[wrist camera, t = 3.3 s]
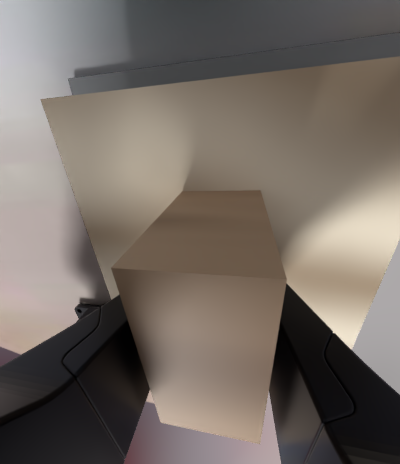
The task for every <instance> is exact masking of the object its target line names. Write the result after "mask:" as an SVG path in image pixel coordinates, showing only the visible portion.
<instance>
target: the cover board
mask: <svg viewBox="0 0 400 464" xmlns="http://www.w3.org/2000/svg"><path fill="white" fill-rule="evenodd" d="M41 102H42V105H43V108H44V111H45V113H46V116H47V119H48V122H49V125H50V128H51V131H52V133H53V136H54V139H55V142H56V145H57V148H58V150H59V153H60V156H61V159H62V162H63V165H64V167H65V170H66V173H67V176H68V179H69V182H70V184H71V187H72V190H73V193H74V196H75V199H76V201H77V204H78V207H79V210H80V213H81V216H82V218H83V221H84V224H85V227H86V230H87V233H88V235H89V238H90V241H91V244H92V247H93V250H94V252H95V255H96V258H97V261H98V264H99V267H100V269H101V272H102V275H103V278H104V281H105V284H106V286H107V289H108V292H109V295H110V298H111V300H112V299H113V298H115V297H116V296H118V295H120V298H121V301H122V304H123V307H124V310H125V313H126V316H127V319H128V322H129V326H130V329H131V332H132V335H133V338H134V341H135V344H136V347H137V350H138V353H139V356H140V360H141V363H142V366H143V369H144V372H145V375H146V378H147V381H148V384H149V387H150V391H151V394H152V397H153V400H154V403H155V406H156V409H157V412H158V415H159V418H160V421H161V423H165V424H169V425H174V426H179V427H184V428H188V429H193V430H197V431H202V432H206V433H211V434H215V435H220V436H225V437H229V438H234V439H239V440H243V441H248V442H252V443H257V444H260V440H261V434H262V427H263V422H264V415H265V410H266V404H267V398H268V392H269V386H270V380H271V373H272V367H273V361H274V355H275V349H276V343H277V337H278V331H279V325H280V319H281V313H282V307H283V301H284V294H285V288H286V283H287V284H288V285H289V286H290V287H291V288H292V289H293V290H294V291H295V292H296V293H297V294H298V295H299V296H300V297H301V298H302V300H303V301H304V302H305V303H306V304H307V305H308V306H309V307H310V308H311V309H312V310H313V311H314V312H315V313H316V314H317V315H318V316H319V317H320V318H321V319H322V320H323V321H324V322H325V323H326V324H327V325H328V326H329V327H330V329H331V330H332V331H333V333H335V334H336V335H337V336H338V337H339V338H340V339H341V340H342V341H343V342H344V343H345V344H346V345H347V346H348V347H349V348H350V349H351V350H352V348H353V346H354V343H355V341H356V339H357V336H358V334H359V332H360V329H361V327H362V324H363V322H364V320H365V318H366V316H367V313H368V311H369V309H370V306H371V304H372V302H373V299H374V297H375V295H376V293H377V290H378V288H379V286H380V283H381V281H382V279H383V276H384V274H385V272H386V270H387V267H388V265H389V263H390V260H391V258H392V256H393V253H394V251H395V249H396V246H397V244H398V242H399V240H400V56H399V57H390V58H382V59H373V60H365V61H357V62H348V63H340V64H332V65H323V66H315V67H307V68H298V69H290V70H282V71H273V72H265V73H256V74H248V75H240V76H231V77H223V78H215V79H206V80H198V81H190V82H181V83H173V84H164V85H156V86H148V87H139V88H131V89H123V90H114V91H106V92H98V93H89V94H81V95H73V96H64V97H56V98H47V99H41Z"/></svg>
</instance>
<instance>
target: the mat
mask: <svg viewBox="0 0 400 464" xmlns="http://www.w3.org/2000/svg"><path fill="white" fill-rule="evenodd" d="M399 56H400V32H399V33H392V34H384V35H377V36H370V37H363V38H356V39H349V40H341V41H334V42H327V43H320V44H313V45H306V46H298V47H291V48H284V49H277V50H270V51H263V52H255V53H248V54H241V55H234V56H227V57H220V58H212V59H205V60H198V61H191V62H184V63H177V64H169V65H162V66H155V67H148V68H141V69H134V70H126V71H119V72H112V73H105V74H98V75H91V76H83V77H76V78H69V79H68V81H69V85H70V88H71V91H72V95H81V94H89V93H98V92H106V91H114V90H123V89H131V88H139V87H148V86H156V85H164V84H173V83H181V82H190V81H198V80H206V79H215V78H223V77H231V76H240V75H248V74H256V73H265V72H273V71H282V70H290V69H298V68H307V67H315V66H323V65H332V64H340V63H348V62H357V61H365V60H373V59H382V58H390V57H399Z"/></svg>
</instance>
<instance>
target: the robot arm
mask: <svg viewBox="0 0 400 464" xmlns="http://www.w3.org/2000/svg"><path fill="white" fill-rule="evenodd" d="M75 312H76V314H77V316H78V318H79V319H78V321H77V322H76V323H75V324H73V325H72V326H70V327H68V328H67V329H65V330H63V331H61V332H60V333H58V334H56V335H55V336H53V337H51V338H50V339H48V340H46V341H44V342H43V343H41V344H39V345H37V346H36V347H34V348H32V349H30V350H29V351H27V352H25V353H23V354H22V355H20V356H18V357H17V358H15V359H13V360H12V361H10V362H8V363H6V364H4V365H2V366H1V367H0V464H124V461H125V460H124V459H125V458H126V455H127V452H128V450H129V447H130V444H131V441H132V438H133V435H134V433H135V430H136V427H137V424H138V421H139V419H140V416H141V413H142V410H143V407H144V404H145V402H146V399H147V396H148V393H149V390H150V387H149V384H148V381H147V378H146V375H145V372H144V369H143V366H142V363H141V360H140V356H139V353H138V350H137V347H136V344H135V341H134V338H133V335H132V332H131V329H130V326H129V322H128V319H127V316H126V313H125V310H124V307H123V304H122V301H121V298H120V295H118V296H116V297H115V298H113V299H112V300H110V301H109V302H107V303H106V304H104V305H103V306H96V305H86V304H78V305H77V306H76V307H75ZM269 393H270V399H271V404H272V411H273V417H274V423H275V429H276V434H277V441H278V447H279V453H280V458H281V464H400V395H399V394H398V393H397V392H396V391H395V390H394V389H393V388H391V387H390V386H389V385H388V384H387V383H386V382H385V381H384V380H383V379H382V378H381V377H379V376H378V375H377V374H376V373H375V372H374V371H373V370H372V369H371V368H370V367H368V366H367V365H366V364H365V363H364V362H363V361H362V360H361V359H360V358H359V357H358V356H357V355H356V354H355V353H354V352H353V351H352V350H351V349H350V348H349V347H348V346H347V345H346V344H345V343H344V342H343V341H342V340H341V339H340V338H339V337H338V336H337V335H336V334H335V333H333V331H332V330H331V329H330V327H329V326H328V325H327V324H326V323H325V322H324V321H323V320H322V319H321V318H320V317H319V316H318V315H317V314H316V313H315V312H314V311H313V310H312V309H311V308H310V307H309V306H308V305H307V304H306V303H305V302H304V301H303V300H302V298H301V297H300V296H299V295H298V294H297V293H296V292H295V291H294V290H293V289H292V288H291V287H290V286H289V285H288V284H287V283H286V288H285V294H284V301H283V307H282V313H281V319H280V325H279V331H278V337H277V343H276V349H275V355H274V361H273V367H272V373H271V380H270V386H269Z"/></svg>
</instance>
